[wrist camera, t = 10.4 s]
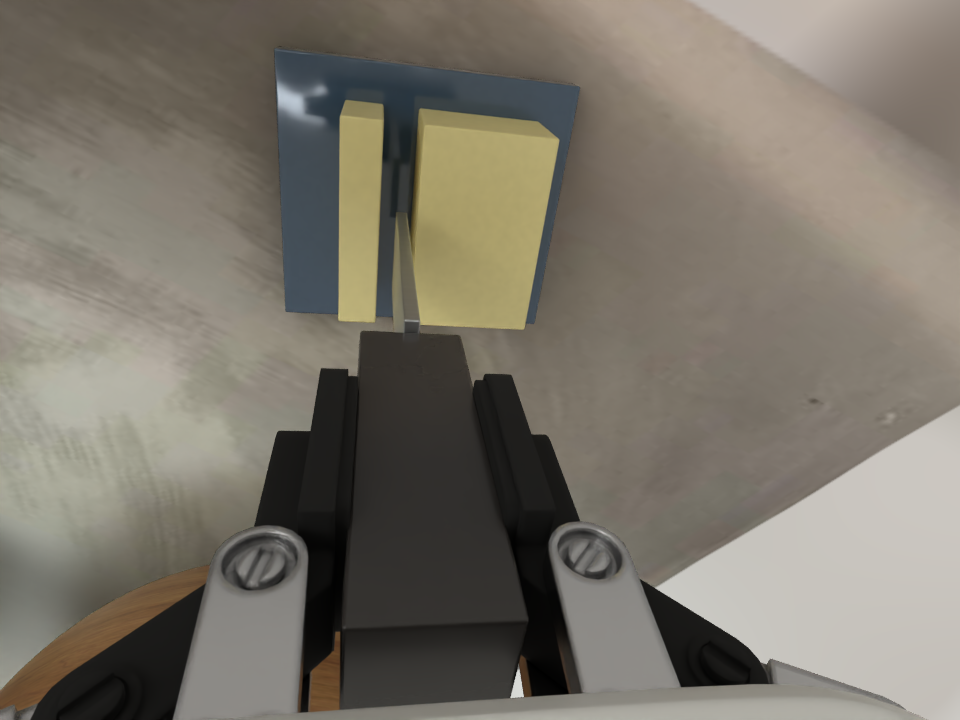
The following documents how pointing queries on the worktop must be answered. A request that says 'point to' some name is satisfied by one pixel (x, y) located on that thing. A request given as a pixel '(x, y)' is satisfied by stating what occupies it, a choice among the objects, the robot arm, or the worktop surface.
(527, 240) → the butter block
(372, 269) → the butter slice
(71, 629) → the bowl
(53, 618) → the worktop surface
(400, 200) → the butter dish
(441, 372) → the knife
